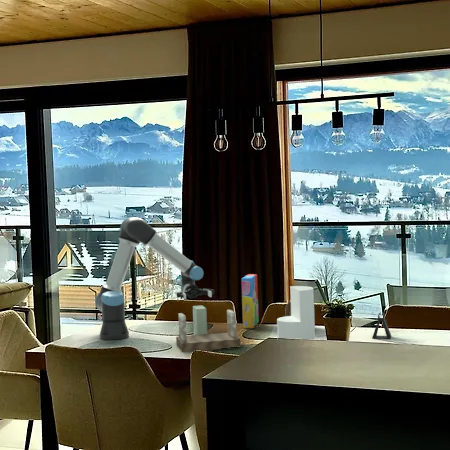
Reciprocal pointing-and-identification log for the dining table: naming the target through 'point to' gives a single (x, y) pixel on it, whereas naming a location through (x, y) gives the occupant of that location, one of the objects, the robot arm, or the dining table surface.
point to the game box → (250, 301)
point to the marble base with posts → (207, 336)
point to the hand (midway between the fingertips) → (198, 295)
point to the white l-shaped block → (299, 315)
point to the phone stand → (388, 334)
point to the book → (199, 320)
